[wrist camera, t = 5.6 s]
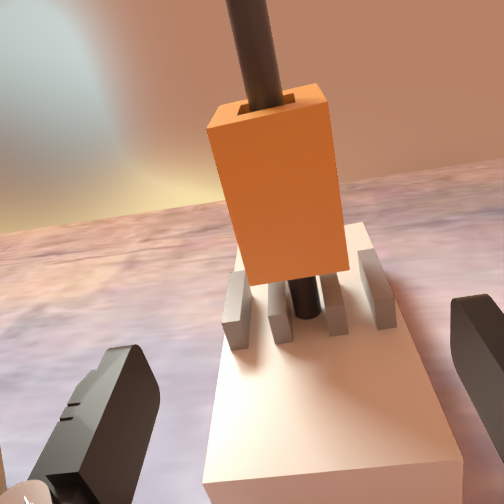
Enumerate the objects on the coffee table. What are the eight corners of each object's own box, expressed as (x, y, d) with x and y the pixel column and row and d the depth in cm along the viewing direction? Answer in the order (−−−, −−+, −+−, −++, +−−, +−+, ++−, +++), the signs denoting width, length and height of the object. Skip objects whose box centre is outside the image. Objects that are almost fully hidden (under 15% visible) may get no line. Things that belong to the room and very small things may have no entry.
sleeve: (249, 286, 21) (206, 128, 17) (253, 239, 25) (219, 105, 22) (349, 270, 20) (327, 101, 17) (336, 224, 25) (316, 83, 21)
